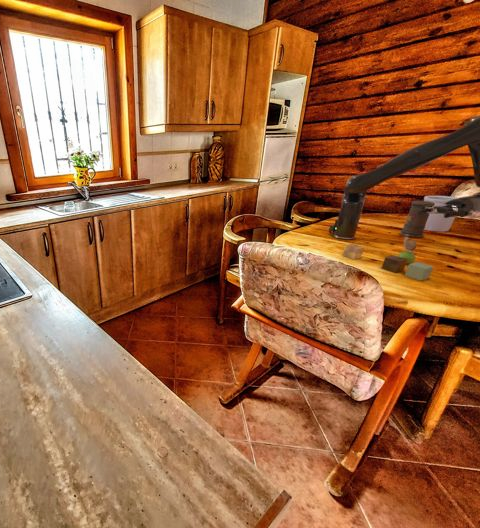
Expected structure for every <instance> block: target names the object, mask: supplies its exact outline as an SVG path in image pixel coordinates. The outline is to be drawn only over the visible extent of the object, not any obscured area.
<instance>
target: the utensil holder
mask: <svg viewBox="0 0 480 528" xmlns="http://www.w3.org/2000/svg"><path fill="white" fill-rule="evenodd" d="M457 198H458V197H455V196H448V195H426V196H424V198H423V201H429V202H433V203H435V206H438V205H444V204H445V203H446V202H448V201H450V200H453V199H457ZM435 212H437V209H436V210H435ZM455 219H456V217H449V218H444V214H432V213H430V214H429V217H428V220H427V222H426V225H425V228H424V231H429V232H437V233H442V232H443V233H444V232H449V231H450V229H451V227H452V225H453V224H454V221H455Z"/></svg>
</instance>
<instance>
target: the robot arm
mask: <svg viewBox="0 0 480 528" xmlns="http://www.w3.org/2000/svg"><path fill="white" fill-rule="evenodd" d="M463 147H467V148H468V151H469V154H470V159H471V163H472V171H473V175H474V183H475V186H476V187H477V188H480V114H479V115H474V116H472V117H471V118H469V119H468V120H466V121H465V122H464V123H463V125H462V127H460V128H458V129H456V130H454V131H453V132H451V133H449V134H448V133H447V134H446V135H444V136H441V137H438V138H434V139H432V140H429V141H426V142H423V143H420V144H418V145H416V146H413V147H412V148H409V149H407V150H405V151H403V152H402V153H400V154H398V155H396V156H394V157H393V158H391V159H390V160H388V161H386V162H385V163H383V164H382V165H380V166H379V167H377V168H375V169H372V170H370V171H367V172H365V173H356V174H353V175H352V176H350V177H349V178H348V179H347V180H346V183H345V187H344V191H343V195H342V200H341V205H340V208H339V213H338V216H337V218H336V219H335V221H334V224H331V225H329V229H328V233H329V235H331V236H332V237H334V238H336V239H340V240H354V239H355V237H356V234H357V231H358V230H357V229H358V227H359V224H360V219H361V216H362V213H363V208H364V207H365V206H364V205H365V202H366V201H365V200H366V195H367V192H368V191H369V190H371V189H372V188H374V187H377V186H378V185H380V184H382V183H384V182H386V181H389V180H391V179H393V178H396V177H399V176H401V175H404V174H407V173H409V172H411V171H413V170H416V169H418V168H420V167H422V166H425V165H427V164H429V163H431V162H434V161H436V160H437V159H441V158H442V157H443V156H445V155H448V154H450V153H451V152H454V151H456V150H458V149H461V148H463ZM456 198H457V199H453V200H450V201H448V202H446V203H445V204H444V205H438V206H435V205H434V204H432V205H427V206H423V207H421V210H419V213H418V214H419V215H423V214H427V213H432V214H444V218H449V217H455V218H458V217H459V218H465V217H468V216H471V215H472V216H473V213H474V212H479V211H480V191H478V192H475V193H473V194H471V195H467V196H466V195H465V196H461V197H456ZM436 209H437V212H435V210H436ZM428 211H431V212H428Z"/></svg>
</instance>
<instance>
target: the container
mask: <svg viewBox="0 0 480 528" xmlns="http://www.w3.org/2000/svg"><path fill="white" fill-rule="evenodd" d="M432 204H434V205H435V203H433V202H429V201H424V200H413V201H411V207H410V209H409V212H408V215H407V217H406V220H405V222H404V225H403V228H401V231H400V232H399V235H400V236H403V237H405V236H406V234H409V235H407V236H406V237H408V238H412V239H413V238H414V239H416V238H417V239H419V238H422V237H424V231H425V230H424V228H425V225H426V222H427V220H428V217H429V214H430V213H427V214H423V215H419V214H418V213H419V210H421V207H423V206H427V205H432ZM428 212H431V211H428Z"/></svg>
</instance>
